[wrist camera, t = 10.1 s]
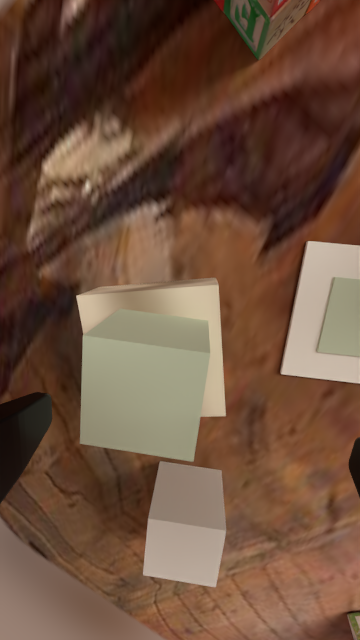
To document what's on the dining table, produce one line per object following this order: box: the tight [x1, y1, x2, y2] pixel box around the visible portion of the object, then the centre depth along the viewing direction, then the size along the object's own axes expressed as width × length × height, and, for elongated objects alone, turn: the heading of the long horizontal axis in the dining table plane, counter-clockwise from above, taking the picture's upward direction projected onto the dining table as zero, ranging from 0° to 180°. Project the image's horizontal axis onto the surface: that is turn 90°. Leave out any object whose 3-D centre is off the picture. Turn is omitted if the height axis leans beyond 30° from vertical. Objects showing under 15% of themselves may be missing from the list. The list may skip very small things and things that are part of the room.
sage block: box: [80, 309, 210, 462], centre depth 14 cm, size 5×5×5 cm
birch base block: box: [76, 278, 226, 417], centre depth 18 cm, size 8×8×4 cm
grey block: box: [143, 461, 226, 587], centre depth 21 cm, size 5×5×5 cm
